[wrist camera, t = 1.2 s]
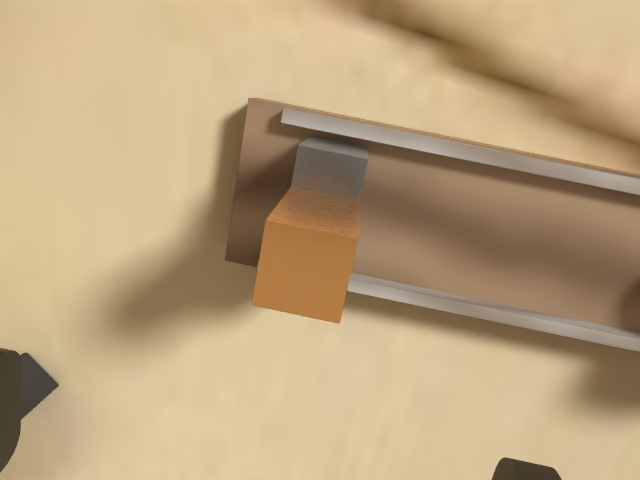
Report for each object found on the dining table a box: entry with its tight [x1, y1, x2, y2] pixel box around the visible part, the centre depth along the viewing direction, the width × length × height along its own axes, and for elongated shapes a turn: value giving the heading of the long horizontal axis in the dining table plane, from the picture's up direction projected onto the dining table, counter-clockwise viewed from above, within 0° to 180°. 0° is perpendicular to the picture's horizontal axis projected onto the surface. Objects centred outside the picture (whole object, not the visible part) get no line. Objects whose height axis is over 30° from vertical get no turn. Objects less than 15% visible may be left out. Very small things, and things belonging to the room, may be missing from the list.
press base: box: [225, 98, 640, 352], centre depth 25 cm, size 9×34×8 cm, turn 79°
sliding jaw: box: [252, 135, 368, 324], centre depth 22 cm, size 7×3×11 cm, turn 169°
